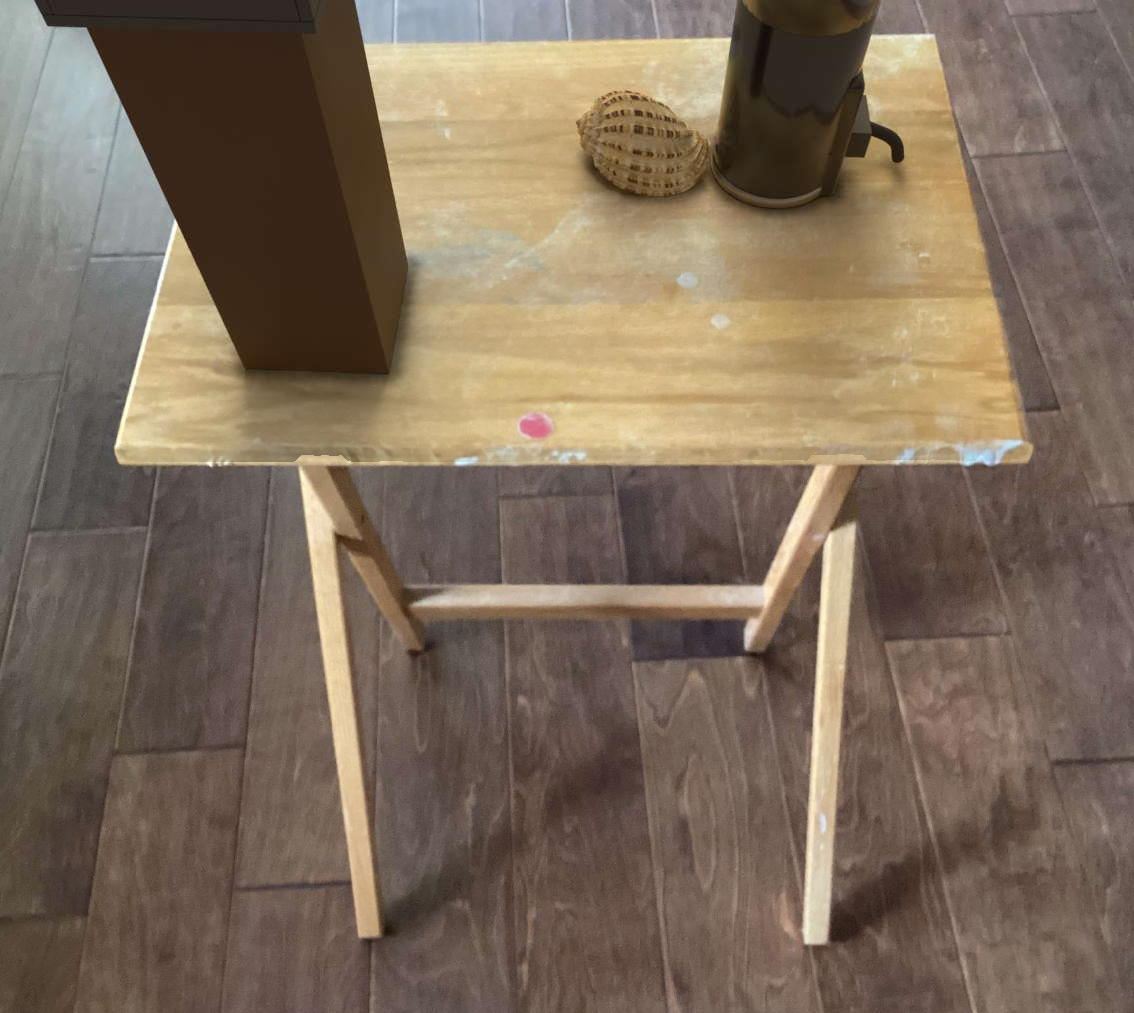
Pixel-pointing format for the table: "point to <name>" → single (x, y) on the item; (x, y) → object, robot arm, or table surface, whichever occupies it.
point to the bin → (265, 166)
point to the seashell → (642, 144)
